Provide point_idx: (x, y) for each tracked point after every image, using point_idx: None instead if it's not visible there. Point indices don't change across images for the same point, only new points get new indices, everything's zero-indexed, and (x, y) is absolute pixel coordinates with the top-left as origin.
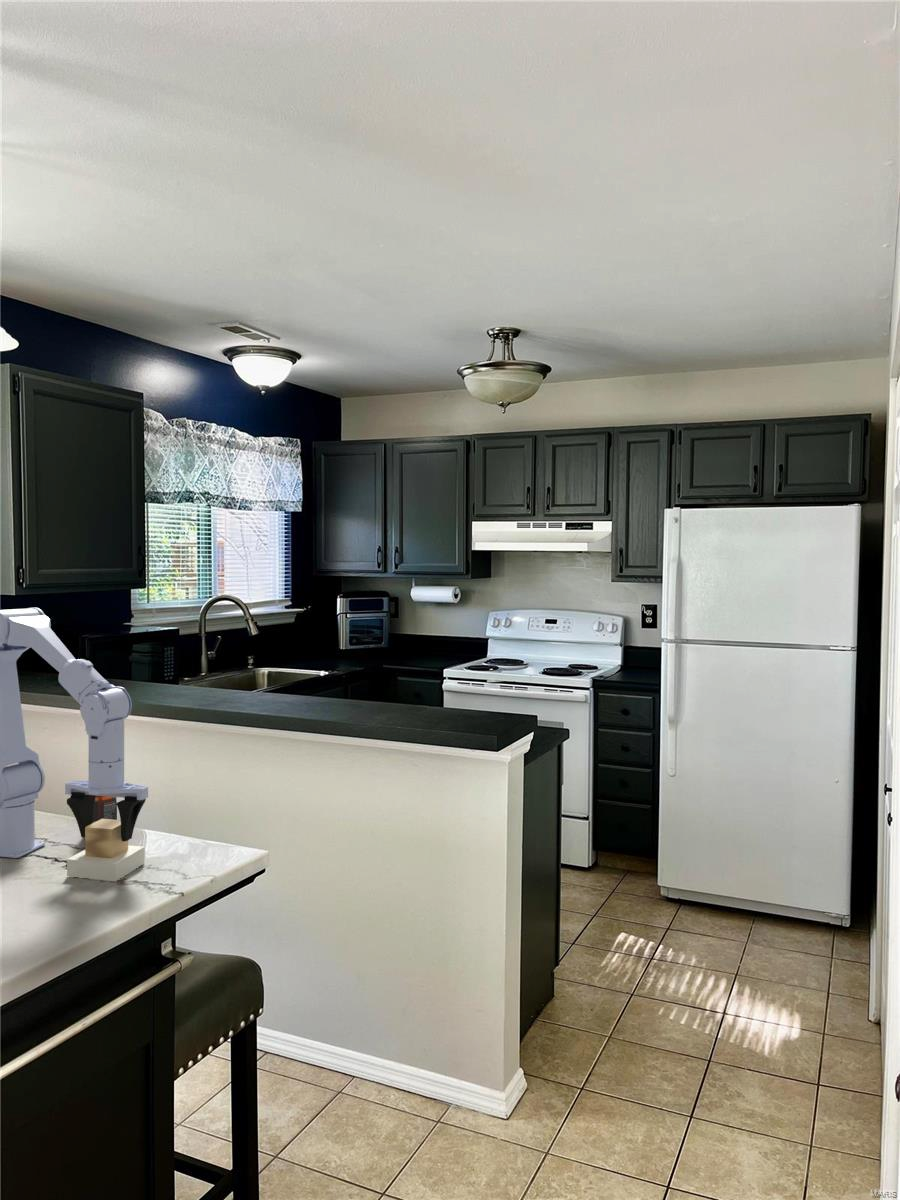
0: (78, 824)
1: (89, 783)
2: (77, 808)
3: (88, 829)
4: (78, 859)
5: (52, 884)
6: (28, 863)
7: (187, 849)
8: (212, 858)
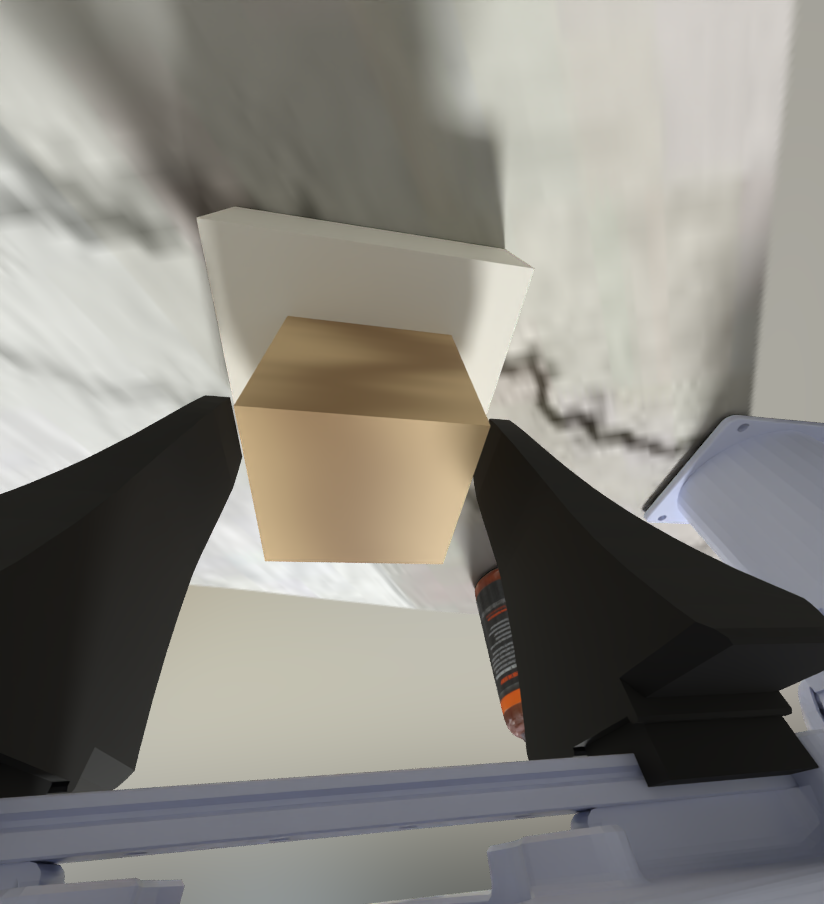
0: (556, 462)
1: None
2: (636, 556)
3: (457, 411)
4: (468, 275)
5: (549, 114)
6: (686, 383)
7: (224, 546)
8: None
